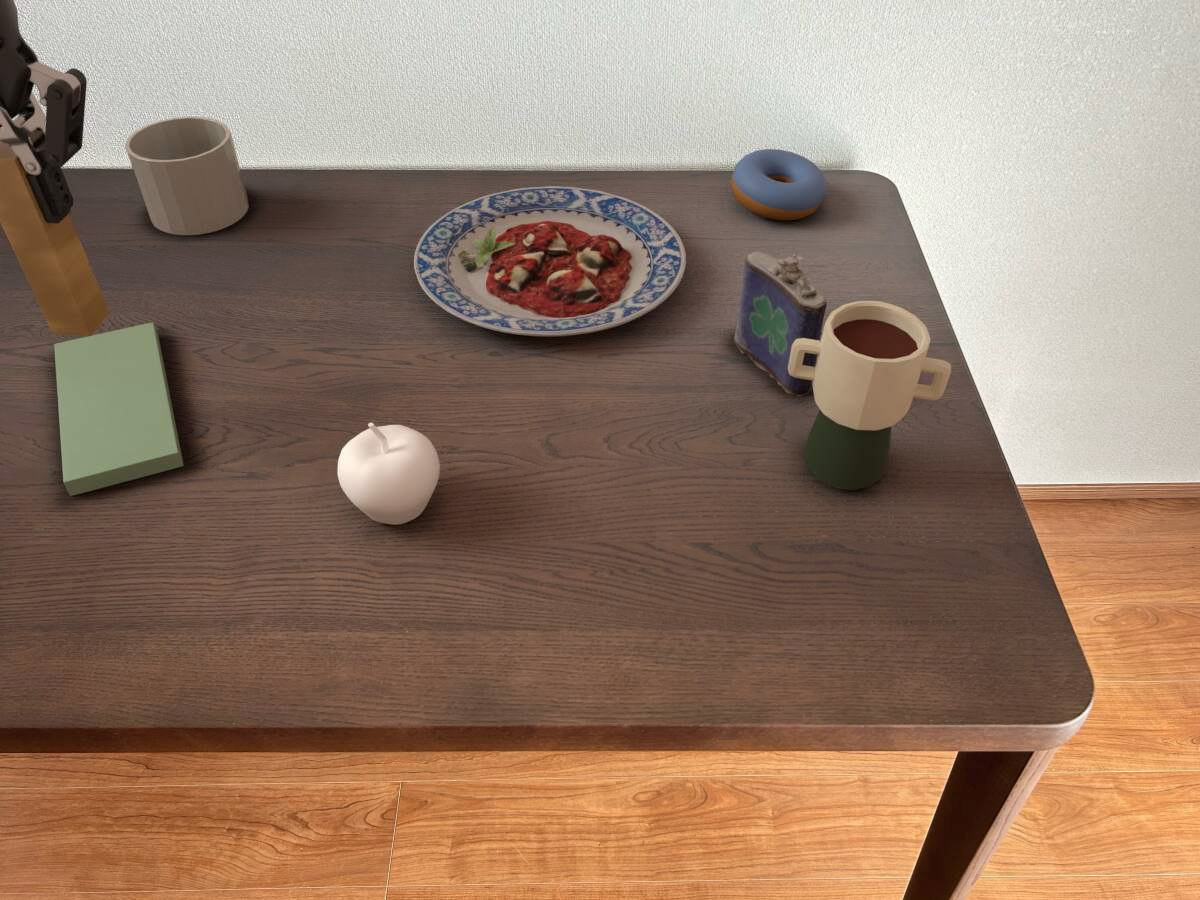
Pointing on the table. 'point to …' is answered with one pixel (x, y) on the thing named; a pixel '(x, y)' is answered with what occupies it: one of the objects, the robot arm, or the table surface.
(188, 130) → the tin
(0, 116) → the robot arm
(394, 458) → the apple
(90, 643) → the table surface
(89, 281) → the stick
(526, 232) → the ceramic plate
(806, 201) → the doughnut
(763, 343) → the flask
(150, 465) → the green rectangular block
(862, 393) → the character mug
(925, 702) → the table surface
